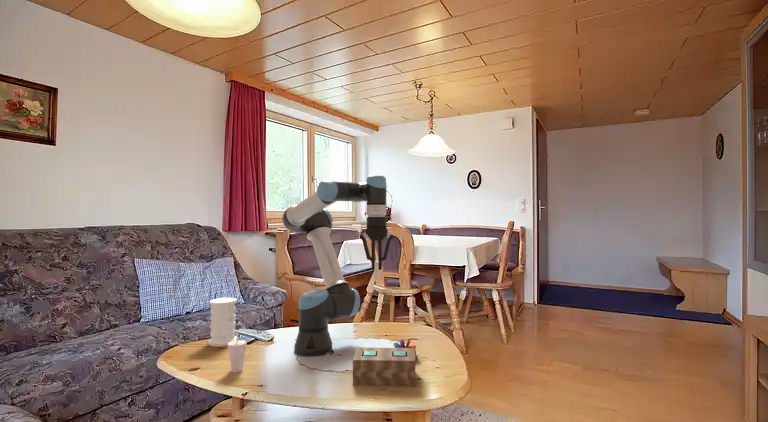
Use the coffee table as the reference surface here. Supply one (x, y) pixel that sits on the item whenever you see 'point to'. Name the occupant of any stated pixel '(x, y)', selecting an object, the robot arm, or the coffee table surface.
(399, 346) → the rainbow disc car
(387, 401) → the coffee table surface
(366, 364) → the socket block
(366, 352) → the peg
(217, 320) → the decorative container
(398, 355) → the peg
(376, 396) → the coffee table surface
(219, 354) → the coffee table surface
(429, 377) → the coffee table surface
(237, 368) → the smoothie
